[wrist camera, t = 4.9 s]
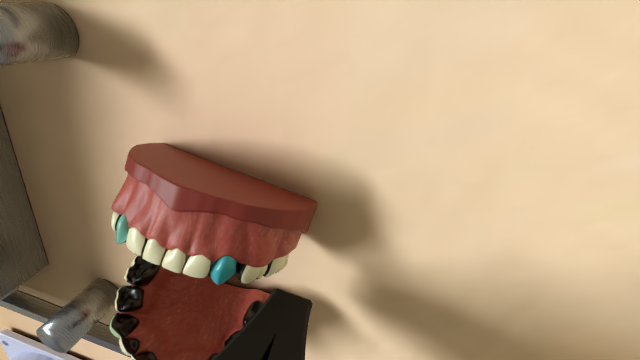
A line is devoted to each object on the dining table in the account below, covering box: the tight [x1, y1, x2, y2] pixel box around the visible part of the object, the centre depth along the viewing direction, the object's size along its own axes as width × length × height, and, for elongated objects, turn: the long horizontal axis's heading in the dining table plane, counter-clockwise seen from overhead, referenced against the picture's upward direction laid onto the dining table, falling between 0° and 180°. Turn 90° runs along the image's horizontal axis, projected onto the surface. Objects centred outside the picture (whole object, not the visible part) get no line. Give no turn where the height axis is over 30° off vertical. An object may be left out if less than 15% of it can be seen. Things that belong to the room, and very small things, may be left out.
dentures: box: [110, 143, 318, 360], centre depth 11 cm, size 6×5×9 cm
